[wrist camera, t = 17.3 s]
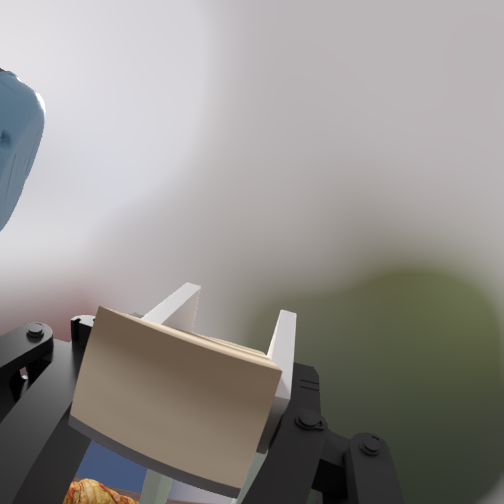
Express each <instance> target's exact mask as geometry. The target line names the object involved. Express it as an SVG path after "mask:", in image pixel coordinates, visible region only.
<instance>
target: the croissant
mask: <svg viewBox="0 0 504 504" xmlns="http://www.w3.org/2000/svg"><path fill="white" fill-rule="evenodd" d="M63 504H139V502H136V501H134V500H133V499H131V498H129V497H126V496H121V495H119V494H118V493H117V492H115V491H112V490H111V489H109V488H107V487H105V486H103V485H102V484H101V483H100V482H97V481H95V480H92V479H83V480H81V481H80V482H74V481H72V483H71V485H70V488H69V490H68V492H67V494H66V497H65V499H64V501H63Z"/></svg>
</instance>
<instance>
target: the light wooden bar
mask: <svg viewBox="0 0 504 504" xmlns="http://www.w3.org/2000/svg"><path fill="white" fill-rule="evenodd" d="M282 372H283V371H282V370H281V369H280V368H279V367H278V366H277V365H276V364H275V363H274V362H273V361H271V360H270V359H269V358H268V357H267V356H266V355H265V354H264V353H263V352H260V351H257V350H254V349H250V348H247V347H243V346H240V345H237V344H234V343H231V342H227V341H224V340H220V339H216V338H211V337H207V336H203V335H199V334H195V333H191V332H187V331H183V330H179V329H176V328H172V327H168V326H165V325H161V324H157V323H154V322H150V321H147V320H143V319H140V318H137V317H133V316H130V315H127V314H124V313H121V312H117V311H114V310H111V309H108V308H105V307H102V306H99V308H98V311H97V314H96V317H95V320H94V323H93V326H92V330H91V333H90V336H89V339H88V343H87V346H86V350H85V353H84V357H83V361H82V364H81V368H80V372H79V376H78V380H77V384H76V388H75V393H74V397H73V402H72V407H71V411H70V416H69V422H68V425H69V426H71V427H72V428H74V429H75V430H77V431H78V432H80V433H82V434H83V435H85V436H87V437H88V438H90V439H92V440H94V441H95V442H97V443H99V444H100V445H102V446H104V447H106V448H108V449H110V450H111V451H113V452H115V453H117V454H119V455H121V456H123V457H125V458H127V459H129V460H131V461H133V462H135V463H137V464H140V465H142V466H144V467H146V468H148V469H151V470H153V471H155V472H158V473H160V474H162V475H165V476H167V477H170V478H172V479H175V480H178V481H181V482H183V483H186V484H189V485H192V486H194V487H197V488H200V489H204V490H207V491H210V492H213V493H217V494H220V495H224V496H227V497H231V498H235V499H237V498H238V496H239V493H240V491H241V488H242V486H243V483H244V481H245V478H246V476H247V473H248V470H249V468H250V465H251V462H252V460H253V457H254V454H255V452H256V449H257V446H258V443H259V441H260V438H261V435H262V432H263V429H264V426H265V423H266V421H267V418H268V415H269V412H270V409H271V406H272V403H273V400H274V397H275V394H276V390H277V387H278V384H279V381H280V378H281V375H282Z"/></svg>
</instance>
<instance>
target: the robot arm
mask: <svg viewBox="0 0 504 504" xmlns="http://www.w3.org/2000/svg"><path fill="white" fill-rule="evenodd" d="M44 123H45V108H44V103H43V100H42V98H41V97H40V95H39V94H38V93H37V92H36V91H34V90H33V89H31V88H30V87H28V86H27V85H25V84H24V83H22V82H21V81H20V79H19V78H18V77H17V76H16V75H15V74H13V73H12V72H10V71H4V70H3V69H1V68H0V231H1V230H2V229H3V228H4V226H5V225H6V223H7V222H8V220H9V218H10V216H11V214H12V212H13V210H14V208H15V206H16V204H17V202H18V200H19V197H20V195H21V192H22V189H23V186H24V183H25V180H26V179H27V177H28V175H29V173H30V170H31V168H32V165H33V162H34V159H35V156H36V153H37V150H38V147H39V144H40V141H41V137H42V133H43V129H44ZM200 291H201V286H198V285H195V284H191V283H188V282H187V283H186V284H184V285H183V286H182V287H181V288H179V289H178V290H177V291H175V292H174V293H173V294H172V295H170V296H169V297H168V298H167V299H165V300H164V301H163V302H161V303H160V304H159V305H158V306H156V307H155V308H154V309H153V310H151V311H150V312H149V313H147V314H146V315H145V316H142V315H139V314H137V313H133V314H129V315H130V316H133V317H137V318H140V319H143V320H147V321H150V322H154V323H157V324H161V325H165V326H168V327H172V328H176V329H179V330H183V331H187V332H191V333H193V329H194V324H195V318H196V313H197V307H198V302H199V297H200ZM94 320H95V317H94V316H90V315H81V316H77V317H74V318H72V319H71V336H72V341H71V342H70V343H67V342H63V341H60V340H57V339H53V332H52V329H51V328H50V327H49V326H48V325H46V324H44V323H39V322H32V323H31V322H30V323H27V324H25V325H22V326H21V327H18V328H16V329H14V330H12V331H10V332H8V333H6V334H4V335H2V336H0V504H63V501H64V499H65V497H66V494H67V492H68V490H69V488H70V485H71V483H72V481H73V479H74V476H75V474H76V472H77V470H78V467H79V465H80V463H81V461H82V459H83V457H84V455H85V453H86V450H87V448H88V446H89V444H90V442H91V440H92V439H90V438H88V437H87V436H85V435H83V434H82V433H80V432H78V431H77V430H75V429H74V428H72V427H71V426H69V425H68V422H69V416H70V411H71V407H72V402H73V397H74V393H75V388H76V384H77V380H78V376H79V372H80V368H81V364H82V361H83V357H84V353H85V350H86V346H87V343H88V339H89V336H90V333H91V330H92V326H93V323H94ZM295 327H296V313H292V312H289V311H285V310H281V312H280V315H279V318H278V322H277V325H276V328H275V332H274V335H273V338H272V341H271V344H270V348H269V351H268V354H267V357H268V358H269V359H270V360H271V361H273V362H274V363H275V364H276V365H277V366H278V367H279V368H280V369H281V370H282V371H283V372H282V375H281V378H280V381H279V384H278V387H277V390H276V394H275V397H274V400H273V403H272V406H271V409H270V412H269V415H268V418H267V421H266V423H265V426H264V429H263V432H262V435H261V438H260V441H259V443H258V446H257V449H256V452H257V453H261V454H266V452H267V450H268V453H267V456H266V458H265V460H264V462H263V464H262V466H261V468H260V470H259V472H258V473H257V475H256V477H255V479H254V481H253V483H252V485H251V486H250V488H249V490H248V492H247V494H246V495H245V497H244V499H243V501H242V502H241V504H306V501H307V499H308V496H309V493H310V490H311V488H312V489H314V490H316V503H317V504H404V500H403V496H402V492H401V488H400V485H399V481H398V477H397V474H396V470H395V467H394V464H393V460H392V457H391V453H390V450H389V447H388V445H387V444H386V442H385V441H384V440H383V439H382V438H380V437H378V436H376V435H374V434H371V433H359V434H356V435H354V436H353V438H352V439H351V440H350V439H348V438H345V437H342V436H340V435H338V434H335V433H333V432H332V431H331V430H329V429H328V426H327V422H326V421H325V419H324V418H323V417H322V416H321V412H320V411H321V410H320V392H319V375H318V373H317V372H316V371H315V369H314V367H311V366H306V365H302V364H298V363H294V362H293V358H294V343H295ZM23 367H25V368H26V372H27V374H26V375H24V376H21V375H20V369H22V368H23Z"/></svg>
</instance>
